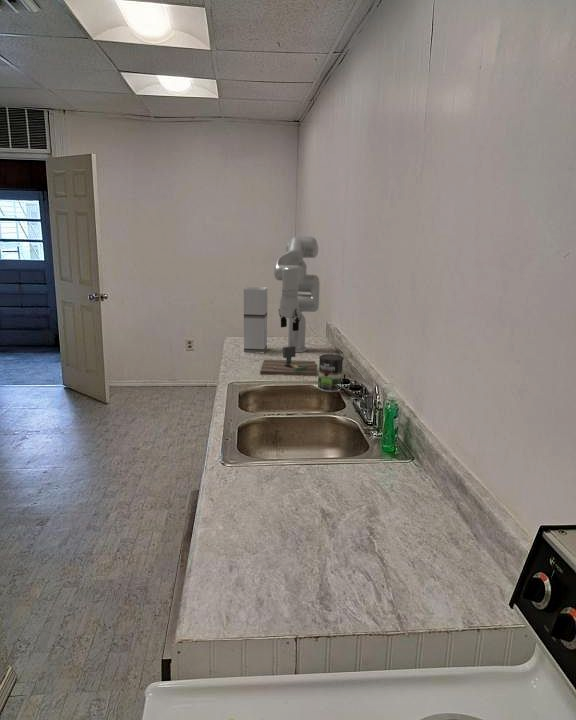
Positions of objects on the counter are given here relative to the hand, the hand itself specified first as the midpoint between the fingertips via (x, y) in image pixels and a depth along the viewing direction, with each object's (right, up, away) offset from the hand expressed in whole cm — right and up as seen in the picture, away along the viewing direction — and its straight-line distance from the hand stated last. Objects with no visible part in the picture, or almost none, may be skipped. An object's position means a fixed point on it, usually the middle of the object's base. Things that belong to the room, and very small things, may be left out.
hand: (289, 328), depth 247 cm
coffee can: (+18, -28, -26) cm, 42 cm away
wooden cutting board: (0, -19, +4) cm, 20 cm away
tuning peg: (+1, -18, +1) cm, 18 cm away
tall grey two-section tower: (-19, -10, +42) cm, 47 cm away
